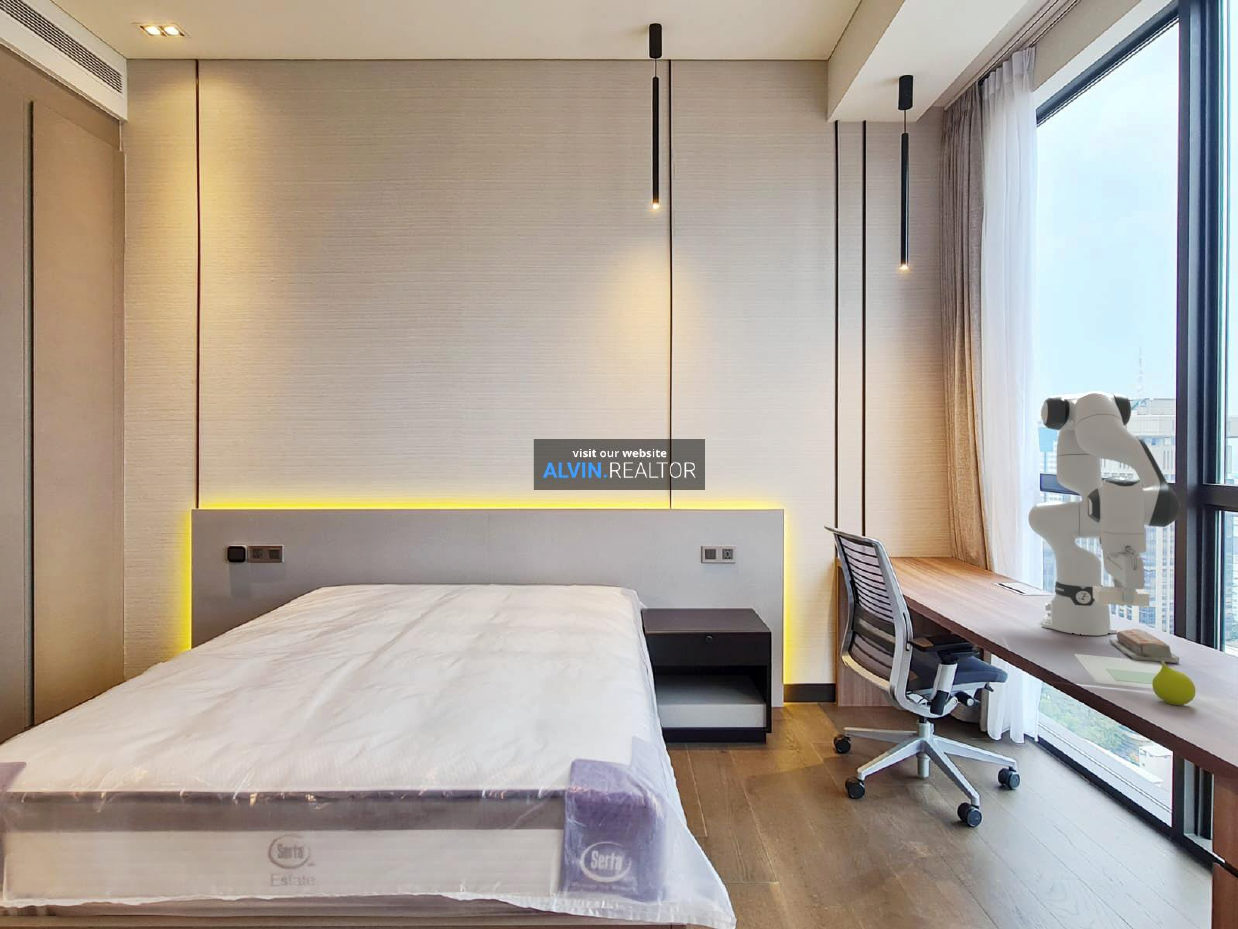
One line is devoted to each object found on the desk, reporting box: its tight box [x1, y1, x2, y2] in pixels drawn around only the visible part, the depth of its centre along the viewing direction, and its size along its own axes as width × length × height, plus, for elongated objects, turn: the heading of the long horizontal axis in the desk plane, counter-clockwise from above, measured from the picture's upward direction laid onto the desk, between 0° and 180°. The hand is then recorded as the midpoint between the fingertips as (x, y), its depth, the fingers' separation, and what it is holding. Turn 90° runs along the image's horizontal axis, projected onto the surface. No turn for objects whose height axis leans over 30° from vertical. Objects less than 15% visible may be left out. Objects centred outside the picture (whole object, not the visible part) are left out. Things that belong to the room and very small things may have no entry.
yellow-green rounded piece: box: [1152, 660, 1196, 706], centre depth 142 cm, size 7×7×10 cm
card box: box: [1093, 585, 1150, 607], centre depth 162 cm, size 6×3×10 cm
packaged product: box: [1109, 628, 1180, 664], centre depth 176 cm, size 18×5×10 cm
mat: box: [1073, 653, 1162, 690], centre depth 161 cm, size 24×18×1 cm
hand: (1124, 599), depth 162 cm, fingers closed on card box, 6 cm apart
